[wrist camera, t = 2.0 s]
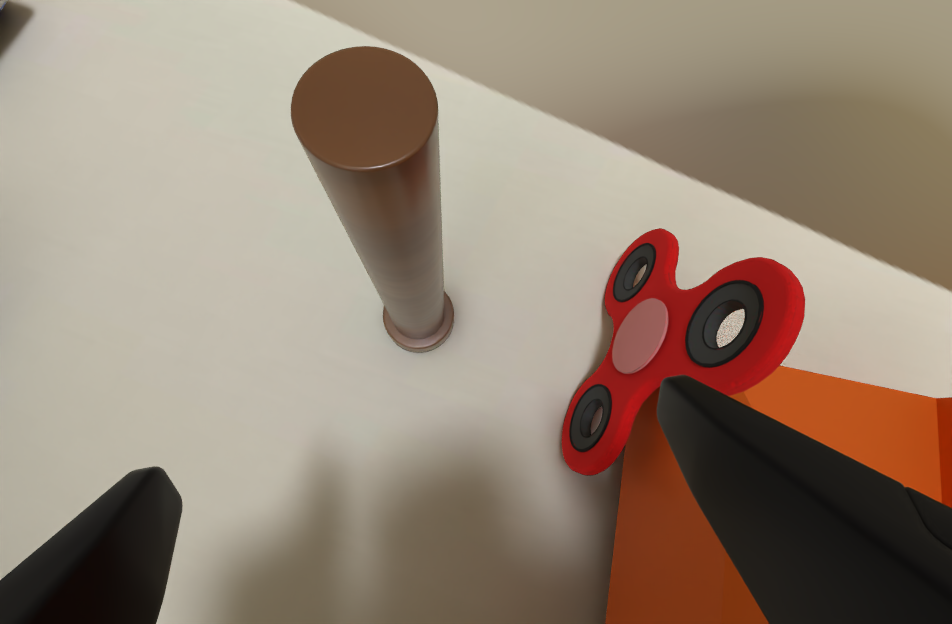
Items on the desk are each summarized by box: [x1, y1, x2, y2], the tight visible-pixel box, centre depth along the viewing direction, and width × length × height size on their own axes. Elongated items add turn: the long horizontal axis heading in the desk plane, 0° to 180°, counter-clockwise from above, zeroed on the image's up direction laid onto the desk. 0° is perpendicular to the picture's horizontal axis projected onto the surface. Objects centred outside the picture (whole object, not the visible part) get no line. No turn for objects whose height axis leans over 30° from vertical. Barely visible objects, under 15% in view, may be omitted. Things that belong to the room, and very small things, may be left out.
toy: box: [562, 228, 805, 475], centre depth 16 cm, size 10×10×1 cm
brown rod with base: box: [291, 46, 454, 352], centre depth 14 cm, size 3×3×14 cm
